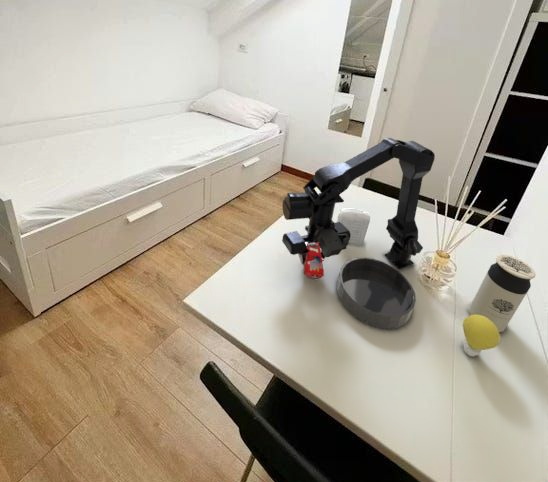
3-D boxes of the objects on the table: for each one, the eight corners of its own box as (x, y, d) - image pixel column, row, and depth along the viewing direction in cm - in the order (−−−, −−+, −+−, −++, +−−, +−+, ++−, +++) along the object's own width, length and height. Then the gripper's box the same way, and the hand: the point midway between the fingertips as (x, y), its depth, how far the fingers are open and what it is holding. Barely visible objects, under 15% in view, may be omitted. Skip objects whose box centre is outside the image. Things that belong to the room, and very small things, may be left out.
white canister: (470, 300, 81) (496, 248, 73) (505, 318, 76) (536, 265, 69) (466, 318, 75) (494, 265, 68) (503, 339, 70) (537, 284, 63)
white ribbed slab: (362, 238, 101) (370, 208, 96) (364, 246, 97) (373, 215, 92) (332, 234, 101) (339, 204, 96) (333, 242, 97) (340, 211, 93)
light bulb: (487, 373, 62) (506, 342, 59) (452, 354, 66) (468, 324, 62) (485, 348, 68) (503, 318, 64) (453, 331, 71) (468, 302, 67)
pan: (375, 262, 90) (378, 251, 89) (427, 314, 75) (432, 302, 73) (323, 278, 82) (326, 266, 81) (369, 340, 67) (374, 327, 65)
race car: (323, 283, 77) (326, 271, 75) (303, 280, 77) (305, 268, 75) (319, 248, 89) (322, 238, 87) (302, 246, 89) (304, 235, 87)
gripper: (306, 241, 66) (297, 292, 72) (369, 226, 74) (356, 273, 80) (284, 214, 75) (278, 260, 81) (343, 203, 83) (333, 246, 89)
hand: (312, 260), depth 83 cm, fingers closed on race car, 6 cm apart
